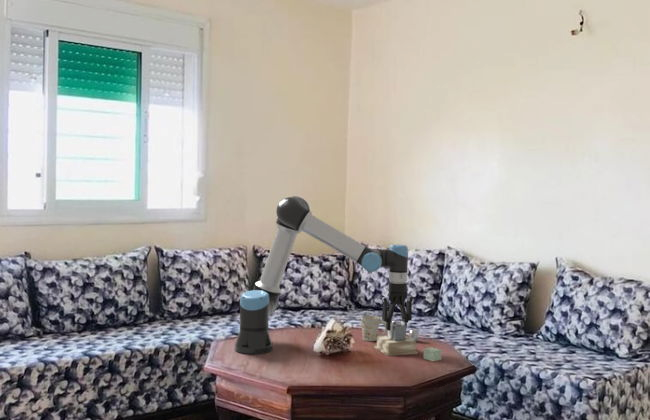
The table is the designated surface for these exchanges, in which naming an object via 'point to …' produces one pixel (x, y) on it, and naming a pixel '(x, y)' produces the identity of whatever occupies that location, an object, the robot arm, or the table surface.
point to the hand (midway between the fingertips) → (396, 337)
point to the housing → (398, 331)
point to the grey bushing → (413, 334)
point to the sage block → (432, 354)
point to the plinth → (395, 346)
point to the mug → (371, 327)
